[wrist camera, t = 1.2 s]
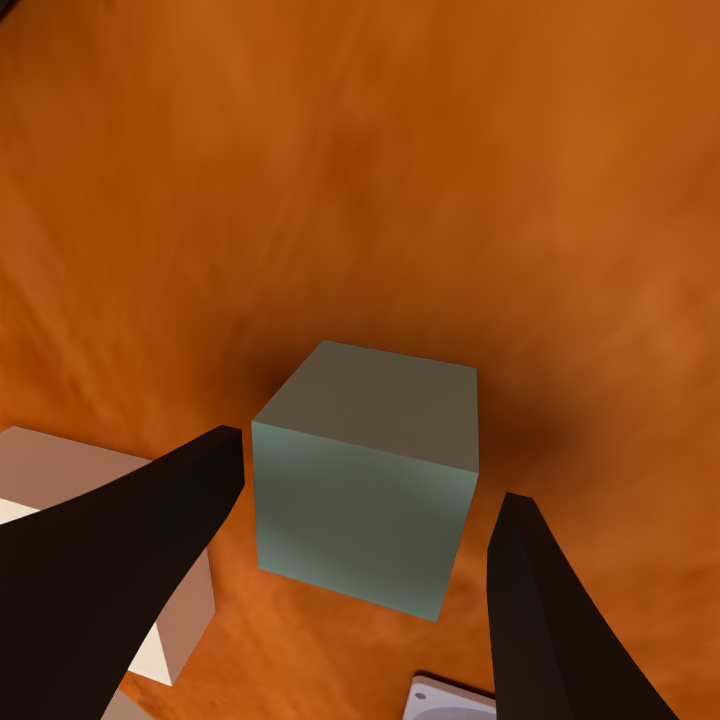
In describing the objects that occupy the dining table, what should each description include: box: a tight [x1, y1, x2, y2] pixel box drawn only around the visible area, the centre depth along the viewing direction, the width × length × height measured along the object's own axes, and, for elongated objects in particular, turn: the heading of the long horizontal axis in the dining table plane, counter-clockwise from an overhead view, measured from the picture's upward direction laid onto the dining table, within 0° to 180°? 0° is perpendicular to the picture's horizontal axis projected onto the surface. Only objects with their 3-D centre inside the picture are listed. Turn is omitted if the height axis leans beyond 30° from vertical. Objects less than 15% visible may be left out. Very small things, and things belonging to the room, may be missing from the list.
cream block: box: [0, 426, 216, 686], centre depth 19 cm, size 10×10×4 cm
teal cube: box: [251, 340, 479, 623], centre depth 12 cm, size 5×5×5 cm
